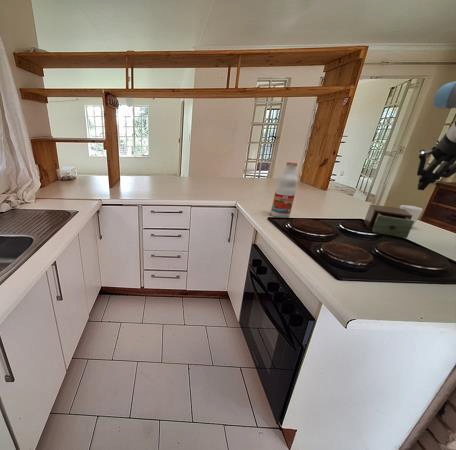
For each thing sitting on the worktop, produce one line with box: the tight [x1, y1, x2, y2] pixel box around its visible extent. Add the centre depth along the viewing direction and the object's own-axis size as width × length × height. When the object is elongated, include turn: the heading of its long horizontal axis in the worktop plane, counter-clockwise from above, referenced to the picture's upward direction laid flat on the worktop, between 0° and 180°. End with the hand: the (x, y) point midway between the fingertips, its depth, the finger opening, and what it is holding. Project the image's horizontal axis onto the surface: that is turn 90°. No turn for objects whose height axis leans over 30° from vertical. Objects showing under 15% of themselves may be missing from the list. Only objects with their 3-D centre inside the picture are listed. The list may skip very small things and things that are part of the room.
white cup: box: [399, 204, 424, 229], centre depth 118 cm, size 8×8×10 cm
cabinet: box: [363, 203, 412, 231], centre depth 113 cm, size 15×13×10 cm
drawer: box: [371, 212, 414, 239], centre depth 107 cm, size 15×11×8 cm
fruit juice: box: [270, 161, 299, 219], centre depth 123 cm, size 9×9×28 cm
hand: (420, 187), depth 85 cm, fingers closed
